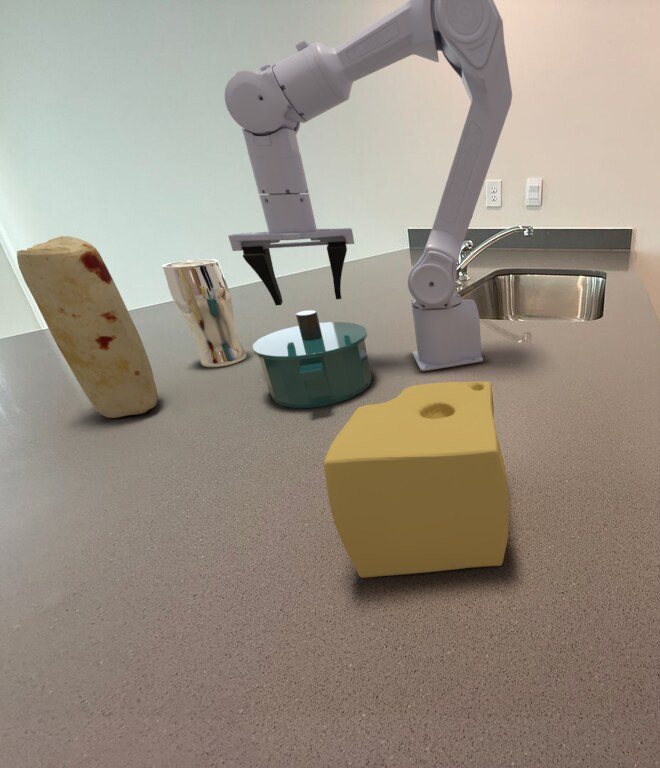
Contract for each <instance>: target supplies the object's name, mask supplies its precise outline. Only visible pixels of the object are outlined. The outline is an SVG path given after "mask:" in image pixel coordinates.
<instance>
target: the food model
mask: <svg viewBox="0 0 660 768" xmlns="http://www.w3.org/2000/svg"><path fill="white" fill-rule="evenodd" d="M16 261H17V266H18V269H19V271H20V273H21V276H22V279H23V281H24V283H25V285H26V287H27V288H28V290H29V292H30V294H31V296H32V298H33V300H34V302H35V304H36V306H37V308H38V310H39V312H40V314H41V317H42V318H43V320H44V323H45V324H46V326H47V328H48V331H49V332H50V335H51V336H52V339H53V340H54V342H55V344H56V346H57V348H58V350H59V351H60V353H61V355H62V356H63V358H64V359H65V362H66V363H67V365H68V367H69V369H70V370H71V372H72V374H73V375H74V378H75V379H76V381H77V382H78V385H79V386H80V387H81V390H82V391H83V393H84V394H85V396H86V397H87V399H88V401H89V402H90V404H91V405H92V406H93V408H94V410H95V411H96V412H97V413H99V414H100V415H102V416H103V417H106V418H107V419H117V418H121V417H127V416H134V415H141V414H145V413H146V412H148V411H150V410H151V409H153V408H154V407H155V406H156V405H157V403H158V397H159V396H158V394H159V393H158V390H157V389H158V388H157V384H156V381H155V377H154V372H153V368H152V365H151V362H150V359H149V357H148V354H147V351H146V348H145V346H144V343H143V341H142V338H141V336H140V334H139V332H138V329H137V327H136V324H135V323H134V321H133V319H132V317H131V315H130V313H129V310H128V308H127V306H126V304H125V301H124V299H123V297H122V295H121V293H120V290H119V289H118V286H117V285H116V283H115V280H114V278H113V277H112V274H111V273H110V271H109V269H108V267H107V265H106V262H105V261H104V260H103V257H102V255H101V254H100V252H99V250H98V249H97V248H96V247H95V246H94V245H92V243H90V242H88V241H86V240H84V239H81V238H77V237H75V236H70V235H69V236H67V235H61V236H58V237H55V238H52V239H49V240H47V241H45V242H41V243H37V244H34V245H33V246H31V247H28V248H27V247H26V249H20V250H17V251H16Z"/></svg>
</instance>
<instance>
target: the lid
mask: <svg viewBox="0 0 660 768" xmlns="http://www.w3.org/2000/svg"><path fill="white" fill-rule="evenodd" d="M295 317H296V320H297V325H295V326H291V327H287V328H282V329H280V330H277V331H274V332H270V333H268V334H266V335H264V336H262V337H260V338H258V339H256V341H254V343H253V344H252V346H251V348H252V352H253V354H254V355H255V356H257V357H258V358H259V357H261V358H265V359H270V360H301V359H310V358H316V357H321V356H326V355H331V354H335V353H338V352H341V351H344V350H347V349H350V348H352V347H354V346H356V345H358V344H360V343H361V342H363V341H364V340H366V339H367V338H368V330H367V329H366V327H364V326H363V325H361V324H358V323H354V322H343V321H327V322H320V319H319V315H318V311H317V310H310V309H309V310H302V311H299V312H296V313H295Z"/></svg>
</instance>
